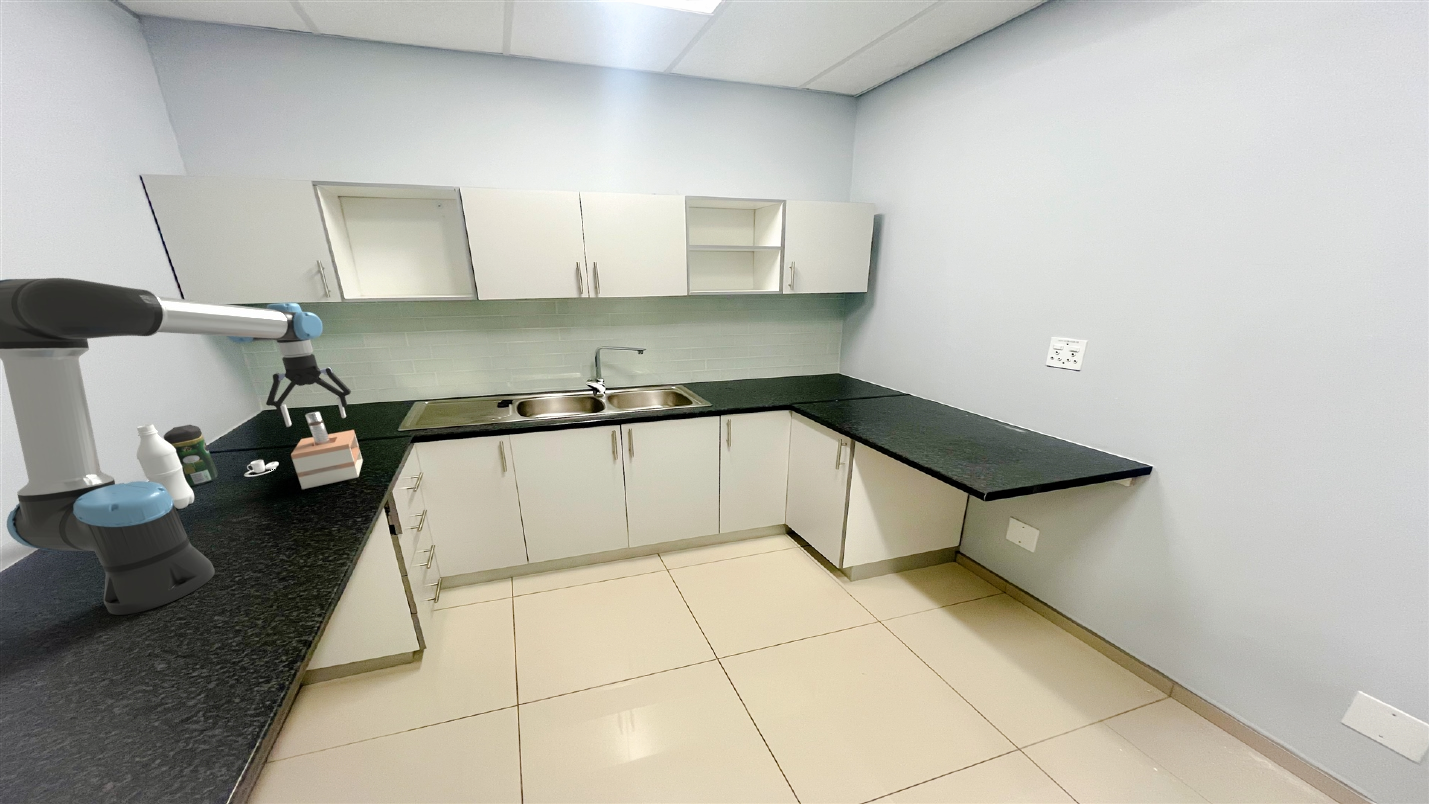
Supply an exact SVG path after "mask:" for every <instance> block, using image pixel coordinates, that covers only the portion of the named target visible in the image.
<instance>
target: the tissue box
mask: <svg viewBox="0 0 1429 804" xmlns="http://www.w3.org/2000/svg"><path fill="white" fill-rule="evenodd" d="M327 434H328V433H327ZM328 437H329V440H330V443H328V444H322V445H317V446H316V444H315V441H314V438H313V436H312V437H306V438H301V439H300V441H299V442H298V443H297V445H296V446H295V448H294V449H293V451H292V452H291V454H290V456H291V460H292V462H293V466H294V469H295V472H296V475H297V478H298V481H299V484H300V486H301V490H305V489H309V488H314V487H319V486H323V485H328V484H333V483H338V482H342V481H347V480H351V479H356V478H359V476H360V472H361V468H362V465H363V461H364V459H363V457H362V454H361V453H362V452H361V450H360V447H359V446H360V445H359V443H358V439H357V436H356V433H355V429H351V430H345V431H339V432H335V433H329V434H328Z"/></svg>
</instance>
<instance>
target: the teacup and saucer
mask: <svg viewBox="0 0 1429 804" xmlns="http://www.w3.org/2000/svg"><path fill="white" fill-rule="evenodd" d="M249 466H250V467H252V470H251V469H250V468H249ZM278 466H279V462H278V461H272V462H269V463H267V464H266V465H265V462H264V459H258V460H257V459H256V460H253V461H251V462H250V464H248V465H246V469H247V470H249V471H247V472H245V473H244V474H243V477H247V478H249V477H258V476H262V475H264V474H265V475H266V474H268V473H270V472H272V471H275V470H276V469H277V467H278ZM272 469H273V470H272ZM274 469H275V470H274ZM266 470H269V471H266ZM270 470H271V471H270ZM265 471H266V472H265ZM250 473H256V474H254V475H253V474H252V475H251V474H250Z"/></svg>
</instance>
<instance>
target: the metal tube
mask: <svg viewBox="0 0 1429 804" xmlns="http://www.w3.org/2000/svg"><path fill="white" fill-rule="evenodd" d="M304 416H305V419H306V421H307V424H308V427H309V430H310V432H311V434H312V437H313V438H314V441H315V444H316V446H317V445H322V444H328V443H330V440H329V437H328V432H327V429H326V425H325V422H324V420H323V418H322V415H321V412H320V411H314V412H309V413H306V414H305V415H304Z"/></svg>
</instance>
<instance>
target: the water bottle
mask: <svg viewBox="0 0 1429 804" xmlns="http://www.w3.org/2000/svg"><path fill="white" fill-rule="evenodd" d="M136 428H137V431H138V432H137V433H138V435H137V436H139V437H140V438H139V439H140V442H139V445H138V448H137V452H136V460H138V462H139V464H140V467H141V468H142V472H143V474H144V476H145V477H146V479H147V481H148V482H155V483H159V484H161V485H163V486H164V487H165V488H166V490H167V491H168V493H169V494H170V496H171V497H172V499H173V501H174V506H175V508H176V509H177V510H182V509H184V508H187V507H188V505H192V504H193V503H194V501H195V494H194V491H193V489H192V488H191V486H189V485H188V484H187V482H186V480H185V477H184V474H183V469H182V465H181V463H180V460H179V458H178V456H177V453H176V449H175V448H174V447H173V446H172V445H171V444H170V443H168V442H167V441H165V440H164V438H162V437H161V436H160V435H159V434H158V432H159V431H158V430H157V429H156V428H155V425H154V423H148V424H143V425H142V424H141V425H139V426H136Z"/></svg>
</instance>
